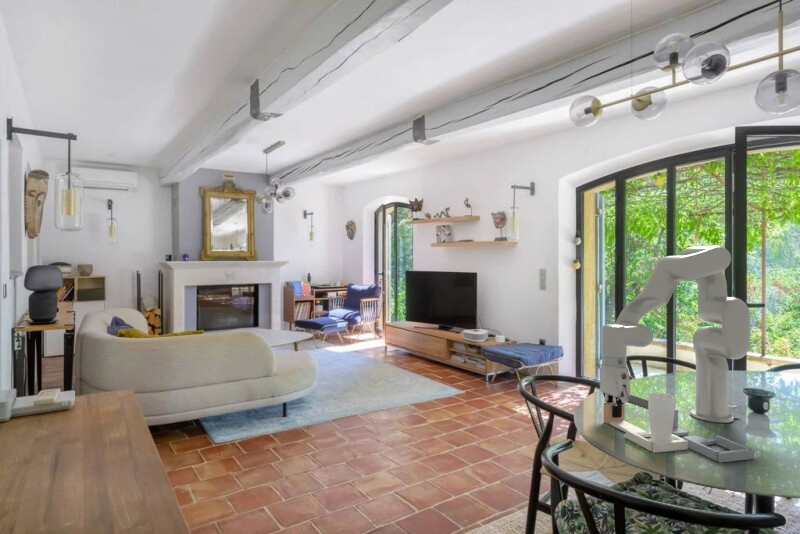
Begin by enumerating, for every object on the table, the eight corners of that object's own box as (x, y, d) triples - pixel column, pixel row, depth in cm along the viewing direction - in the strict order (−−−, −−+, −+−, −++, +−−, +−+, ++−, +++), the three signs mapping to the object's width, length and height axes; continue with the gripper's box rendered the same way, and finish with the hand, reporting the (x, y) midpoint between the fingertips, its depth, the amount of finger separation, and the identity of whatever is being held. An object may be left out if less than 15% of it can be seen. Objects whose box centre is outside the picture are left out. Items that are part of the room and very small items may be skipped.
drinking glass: (677, 452, 136) (677, 399, 136) (651, 449, 138) (651, 398, 137) (670, 443, 143) (670, 393, 142) (645, 441, 144) (645, 391, 144)
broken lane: (678, 426, 156) (679, 407, 156) (754, 458, 131) (754, 435, 131) (649, 429, 154) (649, 409, 154) (719, 462, 128) (720, 438, 128)
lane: (625, 419, 163) (626, 401, 163) (687, 449, 138) (687, 427, 137) (596, 422, 161) (596, 403, 160) (653, 452, 135) (654, 430, 135)
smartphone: (651, 408, 174) (617, 396, 189) (651, 411, 174) (617, 399, 189) (666, 406, 177) (631, 394, 192) (666, 409, 177) (631, 397, 192)
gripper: (640, 365, 153) (640, 422, 154) (608, 356, 169) (607, 407, 169) (620, 367, 152) (620, 424, 152) (589, 357, 167) (589, 409, 168)
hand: (613, 415), depth 161 cm, fingers closed on lane, 2 cm apart
